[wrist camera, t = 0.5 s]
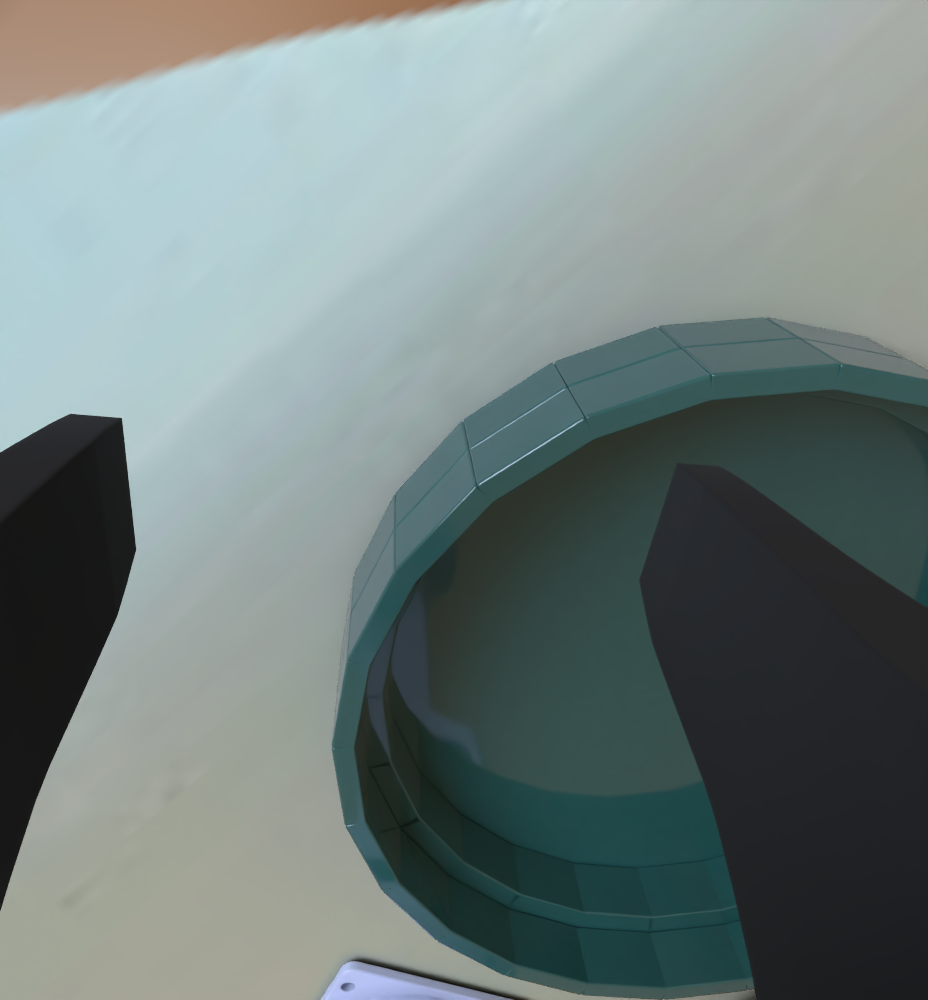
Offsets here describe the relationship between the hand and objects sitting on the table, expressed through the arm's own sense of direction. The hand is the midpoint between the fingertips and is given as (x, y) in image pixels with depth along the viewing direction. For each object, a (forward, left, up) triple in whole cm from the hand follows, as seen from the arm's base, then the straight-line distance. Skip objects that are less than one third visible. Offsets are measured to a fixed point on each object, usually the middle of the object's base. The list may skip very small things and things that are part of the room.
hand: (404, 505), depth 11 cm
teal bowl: (-6, -12, -11) cm, 17 cm away
